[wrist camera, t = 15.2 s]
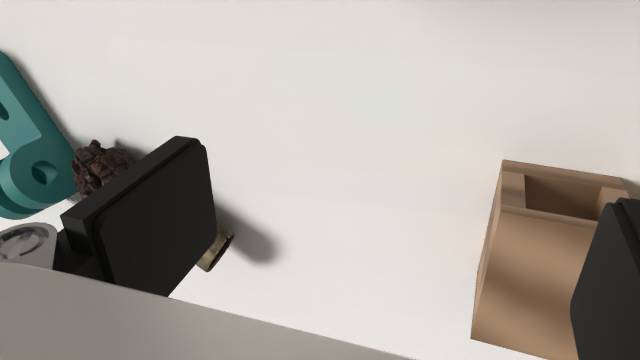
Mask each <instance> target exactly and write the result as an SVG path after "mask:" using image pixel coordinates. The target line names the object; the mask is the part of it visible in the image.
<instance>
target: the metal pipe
mask: <svg viewBox="0 0 640 360" xmlns="http://www.w3.org/2000/svg"><path fill="white" fill-rule="evenodd" d="M100 146H101V144H100V143H99V142H98V141H97V140H92V142H91V144H90V145H89V147H85V148H84V150H83V149H81V148H79V149H78V150H77V151H76V155H77V156H75V157H76V158H74V160H72V166H71V169H72V170H73V172H74V174H75V176H74V183H75V186H76V187H77V189H78V191H80V193H81V197H82V199H84V198H86V197H87V196H89V195H90V194H92V193H93V192H95V191H96V190H97V189H99V188H100V187H102V186H103V185H105V184H106V183H108V182H109V181H110V180H112V179H113V178H115V177H116V176H118V175H119V174H121V173H122V172H123V171H125V170H126V169H128V168H129V167H131V166H132V165H134V164H133V163H132V161H131V159H130V158H129V157H128V155H127V153H126V152H125V150H124V149H123V150H120V151H119V150H118V149H116V148H115V147H112V148H109V149H105V148H101V147H100ZM217 231H218V232H217V237H216V240H215V242H214V243H213V244H212V246H211V247H210V248H209V249H208V250H207V251H206V253H205V254H204V255H203V256H202V257H201V258H200V260H199V261H198V262H197V263H196V265H197V266H198V267H200V268H201V269H203V270H204V271H205V272H209V271H211V269H213V267H214V266H215V265H216V263H217V262H218V261H219V260H220V258H221V257H222V255H223V254H224V253H225V251H226V250H227V248H228V247H229V245H230V243H231V241H232V240H233V238H234V236H235V234H234V233H233V232H231V231H230V230H228V229H226V228H224V227H223V226H221V225H219V224H218V223H217Z"/></svg>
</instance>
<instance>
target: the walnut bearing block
mask: <svg viewBox="0 0 640 360" xmlns="http://www.w3.org/2000/svg"><path fill="white" fill-rule="evenodd" d="M620 197H623V198H630V197H629V194H628V192H627V190H626V188H625V185H624V183H623V181H622V179H621V178H619V177H612V176H606V175H599V174H593V173H586V172H580V171H573V170H567V169H560V168H554V167H547V166H541V165H534V164H528V163H521V162H515V161H508V160H502V165H501V169H500V174H499V178H498V183H497V187H496V192H495V196H494V200H493V205H492V209H491V214H490V218H489V223H488V227H487V232H486V236H485V241H484V245H483V250H482V254H481V258H480V263H479V267H478V272H477V281H476V290H475V300H474V309H473V319H472V328H471V338H470V339H473V340H477V341H481V342H484V343H488V344H492V345H496V346H499V347H503V348H507V349H511V350H514V351H518V352H522V353H525V354H529V355H533V356H537V357H540V358H544V359H548V360H579V359H578V354H577V349H576V344H575V338H574V333H573V328H572V323H571V318H570V303H571V299H572V296H573V293H574V290H575V287H576V284H577V282H578V279H579V276H580V273H581V270H582V267H583V265H584V262H585V259H586V256H587V253H588V250H589V248H590V245H591V242H592V239H593V236H594V233H595V231H596V228H597V225H598V222H599V219H600V216H601V214H602V211H603V208H604V206H605V204H606V203H608V202H609V203H615V202H616V201H617V199H618V198H620Z"/></svg>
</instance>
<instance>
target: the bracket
mask: <svg viewBox="0 0 640 360" xmlns="http://www.w3.org/2000/svg"><path fill="white" fill-rule="evenodd" d="M0 140H1V141H2V143H3V144H4V146H5V147H6V148H7V150H8V151H9V152H10V154H9V155H8V156H7V157H6V158H4V159H2V160H0V217H3V218H6V219H12V220H19V219H25V218H28V217H30V216H32V215H34V214H36V213H38V212H40V211H42V210H44V209H46V208H48V207H50V206H52V205H54V204H56V203H59V202H61V201H63V200H64V199H66V198H68V197H70V196H71V195H73V194H75V193H76V192H78V189H77V187H76V186H75V183H74V176H75V174H74V172H73V170H72V169H71V166H72V160H74V158H76V157H75V156H77V155H76V154H75V153H74V151H73V150H72V148H71V147H70V145H69V144H68V142H67V141H66V139H65V138H64V137H63V135H62V134H61V132H60V131H59V129H58V128H57V126H56V125H55V124H54V122H53V121H52V119H51V118H50V116H49V115H48V113H47V112H46V111H45V109H44V108H43V106H42V105H41V103H40V102H39V100H38V99H37V98H36V96H35V95H34V93H33V92H32V90H31V89H30V87H29V86H28V84H27V83H26V82H25V80H24V79H23V77H22V76H21V74H20V73H19V71H18V70H17V69H16V67H15V66H14V64H13V63H12V62H11V60H10V59H9V58H8V57H7V56H6V55H5V54H4V53H2V52H1V51H0Z"/></svg>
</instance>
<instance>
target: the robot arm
mask: <svg viewBox="0 0 640 360" xmlns="http://www.w3.org/2000/svg"><path fill="white" fill-rule="evenodd" d="M60 218H61V220H62V223H63V226H64V229H62V230H61V231H60V232H58V233H57V230H56V228H55V227H54V226H52V225H50V224H47V223H38V222H34V223H26V224H21V225H17V226H13V227H10V228H8V229H6V230H3V231H1V232H0V360H417V359H413V358H409V357H405V356H401V355H397V354H393V353H389V352H385V351H381V350H377V349H373V348H369V347H365V346H361V345H357V344H353V343H349V342H345V341H341V340H337V339H333V338H329V337H325V336H321V335H317V334H313V333H309V332H305V331H301V330H297V329H293V328H289V327H285V326H281V325H277V324H273V323H269V322H265V321H261V320H257V319H253V318H249V317H245V316H241V315H237V314H233V313H229V312H225V311H221V310H217V309H213V308H209V307H205V306H200V305H196V304H192V303H188V302H184V301H180V300H176V299H172V298H168V296H169V295H170V294H171V292H172V291H173V290H174V289H175V288H176V287H177V285H178V284H179V283H180V282H181V281H182V280H183V278H184V277H185V276H186V275H187V274H188V273H189V271H190V270H191V269H192V268H193V267H194V265H195V264H196V263H197V262H198V261H199V260H200V258H201V257H202V256H203V255H204V254H205V253H206V251H207V250H208V249H209V248H210V247H211V246H212V244H213V243H214V242H215V240H216V237H217V232H218V231H217V222H216V215H215V208H214V201H213V194H212V187H211V180H210V173H209V166H208V159H207V152H206V148H205V146H204V145H201V143H200V141H199V140H198V139H196V138H189V137H182V136H175V137H173V138H171V139H170V140H168V141H167V142H165V143H164V144H163V145H161V146H160V147H158V148H157V149H155V150H154V151H152V152H151V153H150V154H148V155H147V156H145V157H144V158H142V159H141V160H139V161H138V162H136V163H135V164H134V165H132V166H131V167H129V168H128V169H126V170H125V171H123V172H122V173H121V174H119V175H118V176H116V177H115V178H113V179H112V180H110V181H109V182H108V183H106V184H105V185H103V186H102V187H100V188H99V189H97V190H96V191H95V192H93V193H92V194H90V195H89V196H87V197H86V198H84V199H83V200H82V201H80V202H79V203H77V204H76V205H74V206H73V207H71V208H70V209H68V210H67V211H66V212H64V213H63V214H61V215H60ZM570 318H571V323H572V328H573V333H574V338H575V344H576V349H577V354H578V359H579V360H640V200H637V199H630V198H623V197H620V198H618V199H617V201H616V202H615V203H609V202H608V203H606V204H605V206H604V208H603V211H602V214H601V216H600V219H599V222H598V225H597V228H596V231H595V233H594V236H593V239H592V242H591V245H590V248H589V250H588V253H587V256H586V259H585V262H584V265H583V267H582V270H581V273H580V276H579V279H578V282H577V284H576V287H575V290H574V293H573V296H572V299H571V303H570Z"/></svg>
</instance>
